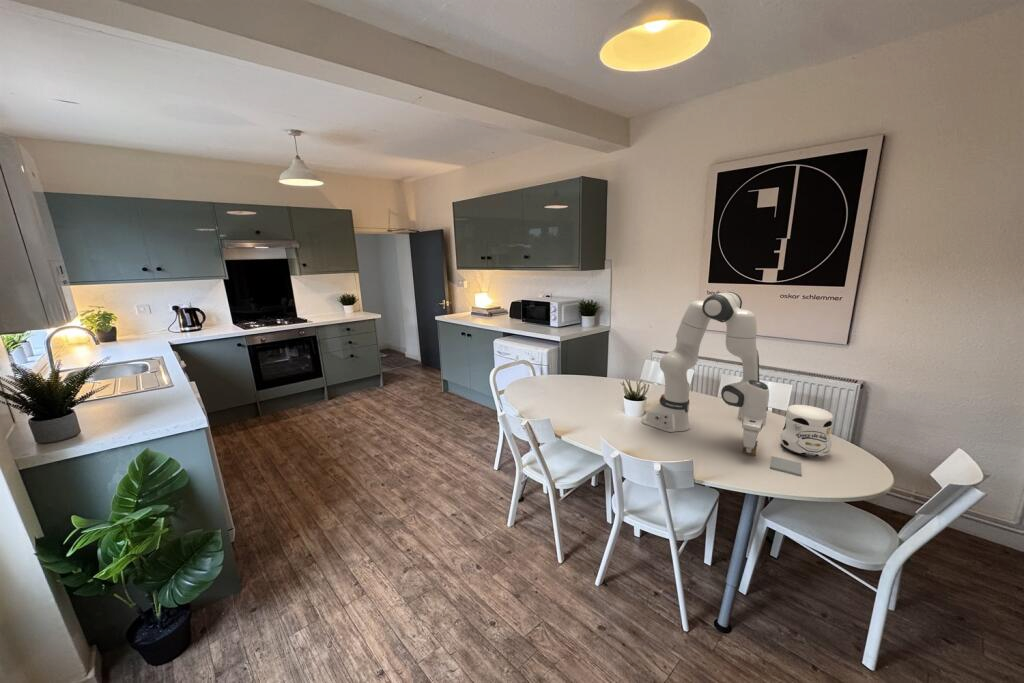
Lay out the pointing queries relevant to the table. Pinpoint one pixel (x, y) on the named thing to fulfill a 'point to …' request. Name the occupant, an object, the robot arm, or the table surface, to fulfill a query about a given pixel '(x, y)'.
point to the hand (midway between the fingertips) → (749, 448)
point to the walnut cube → (753, 451)
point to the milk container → (807, 430)
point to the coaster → (785, 466)
